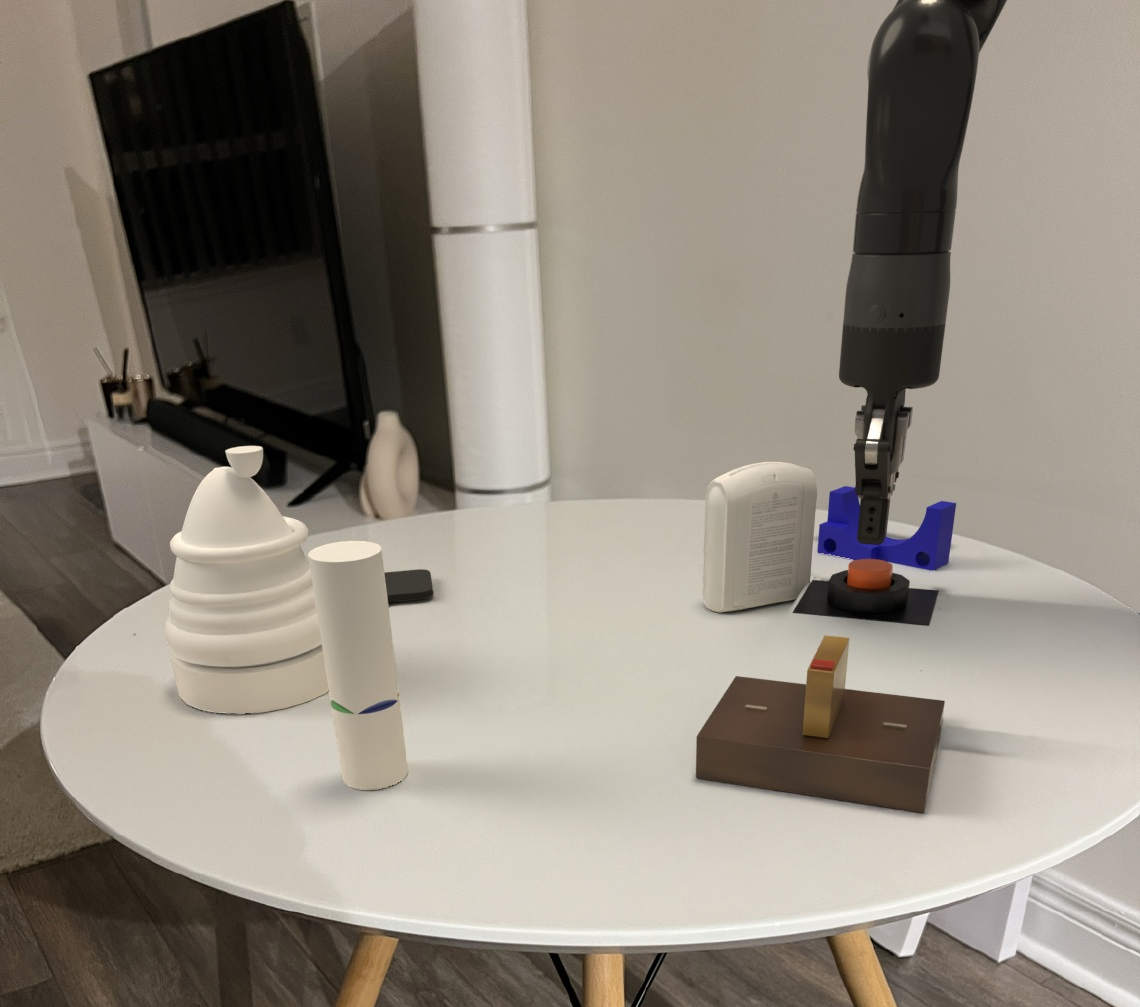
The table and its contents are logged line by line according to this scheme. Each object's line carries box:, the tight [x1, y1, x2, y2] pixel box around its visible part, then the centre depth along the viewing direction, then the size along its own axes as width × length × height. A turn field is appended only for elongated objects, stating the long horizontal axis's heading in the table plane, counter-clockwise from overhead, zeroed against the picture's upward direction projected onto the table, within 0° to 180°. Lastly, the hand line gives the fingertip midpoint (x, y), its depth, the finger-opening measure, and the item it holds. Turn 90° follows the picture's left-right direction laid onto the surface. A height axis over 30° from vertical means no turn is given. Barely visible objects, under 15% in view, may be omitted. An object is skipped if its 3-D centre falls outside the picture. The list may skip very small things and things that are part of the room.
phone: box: [384, 568, 434, 603], centre depth 103 cm, size 7×1×15 cm
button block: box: [792, 569, 940, 627], centre depth 91 cm, size 11×9×4 cm
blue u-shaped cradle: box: [816, 485, 957, 572], centre depth 106 cm, size 12×4×6 cm, turn 46°
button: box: [847, 559, 894, 589], centre depth 90 cm, size 4×4×2 cm
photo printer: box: [702, 461, 818, 613], centre depth 95 cm, size 10×4×12 cm, turn 115°
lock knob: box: [803, 634, 850, 738], centre depth 67 cm, size 6×2×5 cm, turn 158°
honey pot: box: [164, 445, 329, 715], centre depth 81 cm, size 13×13×18 cm
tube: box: [307, 540, 409, 791], centre depth 67 cm, size 4×4×15 cm
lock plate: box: [695, 675, 946, 814], centre depth 69 cm, size 14×10×3 cm
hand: (871, 541), depth 89 cm, fingers closed
